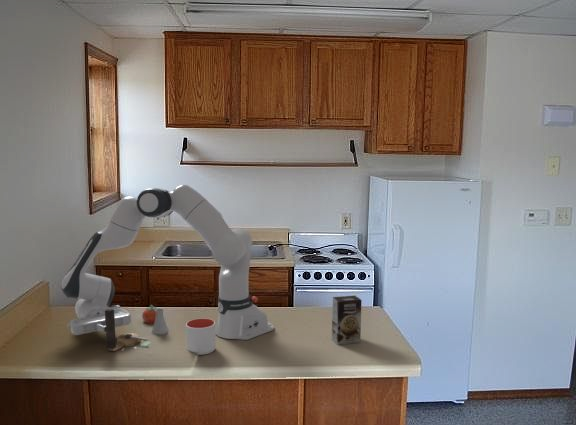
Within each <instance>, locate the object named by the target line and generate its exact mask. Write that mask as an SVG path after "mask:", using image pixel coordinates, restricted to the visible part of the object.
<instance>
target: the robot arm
mask: <svg viewBox="0 0 576 425" xmlns="http://www.w3.org/2000/svg"><path fill="white" fill-rule="evenodd" d="M173 212H175V214H176V213H177V215H179V216H180V217H181V218H182V219H183V220H184V221H185V222H186V223H187V224H188V225H189V226H190V227H191V228H192V229H194V231H195V232H196V233H198V235H199V236H200V237H201V238H202V240H203V241H204V242H205V244H206V246H207V247H208V248H209V250H210V251H211V253H212V258H213V259H214V260H215V261H216V262H217V263H218V264H219V265H220V270H219V274H218V296H217V306H218V308H217V309H218V320H217V324H216V325H217V326H216V328H215V336H218V337H219V338H223V339H227V340H242V341H247V340H250V339H253V338H255V337H259V336H261V335H264V334H266V333H268V332H272V331H274V324H272V323H271V322H269V321H268V320H269V319H268V316H267V314H266V313H265V311H264V310H263V309H261V308H260V307H258V306H257V305H255V304H254V303H258V301H259V298H258V297H257V296H255V295H253V296H252V295H250V294H249V272H250V265H251V264H250V263H251V257H252V256H251V254H252V245H253V240H252V239H253V238H252V236H251V234H250V233H249V231H247V230H245V229H244V228H243V229H242V228H233V229H231V228H230V226H229V225H228V224H227V222H226V221H225V219H224V218H223V215H222V213H221V212H220V211H219V210H218V209H217V208H216V207H215V206H214V205H212V203H211V202H210V201H208V200H207V199H206V198H205V197H204V195H202V194H201V193H200V192H198V190H195V189H194V188H193V187H191V186H190V185H188V184H181V185H178V186H176V187H175V188H173V189H172V190H171V191H169V190H166V189H162V188H160V187H149V188H145V189H143V190H142V191H140V193H139V194H138V196H137V197H135V196H125V197H123V198H121V199H120V201H119V202H118V204H117V205H116V207H115V209H114V211H113V212H112V214H111V217H110V219H109V222H107V225H106V226H105V227H104V228H103V229H102V230H100V231H96V232H95V233H94V234H93V235H92V236H91V237H90V239H89V240H88V241H87V243H86V244H85V246H84V248H83V249H82V251H80V254H79V256H78V257H77V259H76V260H75V262H74V263H73V265H72V266H71V268H70V269H69V270H68V271H67V273H66V274H65V275H64V278H63V279H62V281H61V284H60V288H61V291H62V293H63V294H64V295H65V297H67V298H69V299H78V300H77V301H76V302H75V306H74V309H75V310H74V311H75V314H76V316H77V317H78V318H74V319H72V320H70V321H69V322H68V323H67V324H66V325H67V328H70V331H71V334H72V335H74V336H79V335H83V334H90V333H95V332H98V331H99V332H102V333H106V324H105V310H107V309H114V316H115V328H118V327H123V326H128V325H130V324H131V323H132V314H131V313H130V312H129V311H127V309H124V308H121V307H122V306H120V305H119V304H117V305H116V304H113V305H111V303H112V301H113V298H114V297H115V296H114V295H115V293H116V292H115V291H116V290H115V289H116V288H115V285H114V283H113V280H112V279H111V278H110V277H106V276H102V275H97V274H92V273H88V272H86V271H87V270H88V268H89V266H90V264H91V263H92V261H93V260H94V258H95V256H96V255H98V253H101V252H104V251H108V250H119V249H124V248H127V247H129V246H130V245H132V244H133V242H134V241H135V239H136V238H137V235H138V233H139V231H140V228H141V225H142V223H143V221H144V220H145V219H146V218H154V219H159V218H165V217H168V216H170V215H171V214H172V213H173Z"/></svg>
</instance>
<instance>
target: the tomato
mask: <svg viewBox="0 0 576 425" xmlns="http://www.w3.org/2000/svg"><path fill="white" fill-rule="evenodd" d="M155 309H158V308H157V307H156V306H153V304H150V305H149V307H146V309H144V310H143V312H142V315H141V316H142V320H143V322H144V323H147V324H154V323H155V319H156V312H155Z"/></svg>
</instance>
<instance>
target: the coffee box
mask: <svg viewBox="0 0 576 425" xmlns="http://www.w3.org/2000/svg"><path fill="white" fill-rule="evenodd" d="M362 303H363V302H362V299H361V298H360V297H358V296H357V295H356V294H355V295H342V296H341V295H340V296H333V297H332V311H331V312H332V318H331V320H332V321H331V340H333V342H334V343H335V344H336V345H339V346H340V345H349V344H355V343H356V344H357V343H361V336H362V335H361V331H362V330H361V327H362Z"/></svg>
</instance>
